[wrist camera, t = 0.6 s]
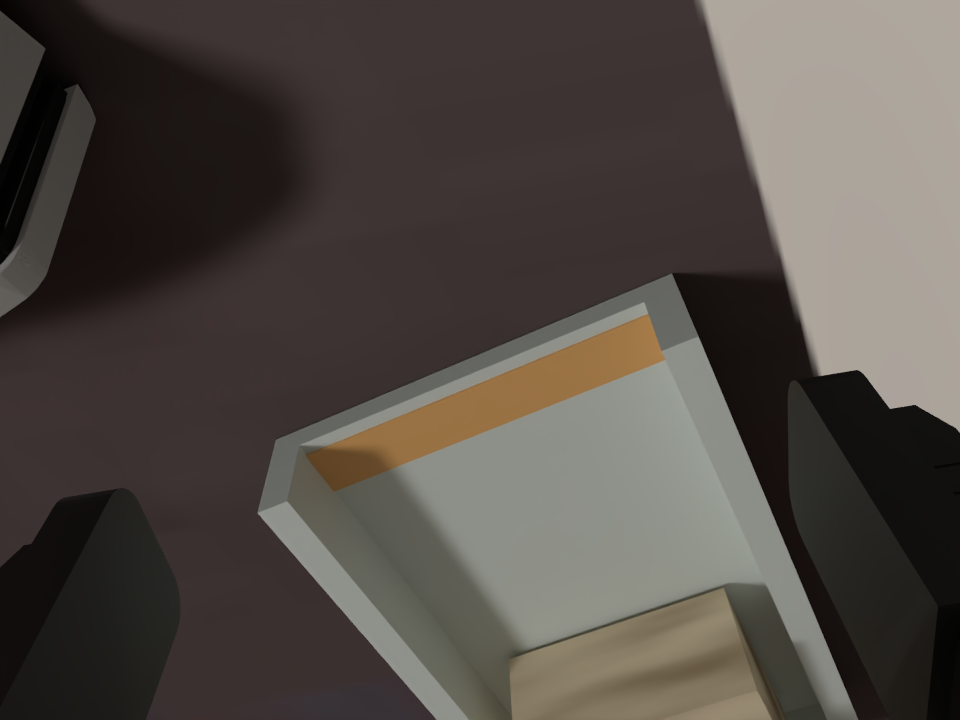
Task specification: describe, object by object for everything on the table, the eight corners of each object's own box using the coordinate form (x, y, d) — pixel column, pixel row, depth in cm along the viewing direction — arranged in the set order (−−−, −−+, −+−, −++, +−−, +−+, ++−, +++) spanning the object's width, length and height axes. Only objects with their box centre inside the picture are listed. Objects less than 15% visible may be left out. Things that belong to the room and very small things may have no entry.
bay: (276, 439, 35) (246, 555, 30) (671, 273, 31) (714, 373, 26) (547, 778, 48) (558, 897, 43) (845, 690, 44) (895, 809, 39)
